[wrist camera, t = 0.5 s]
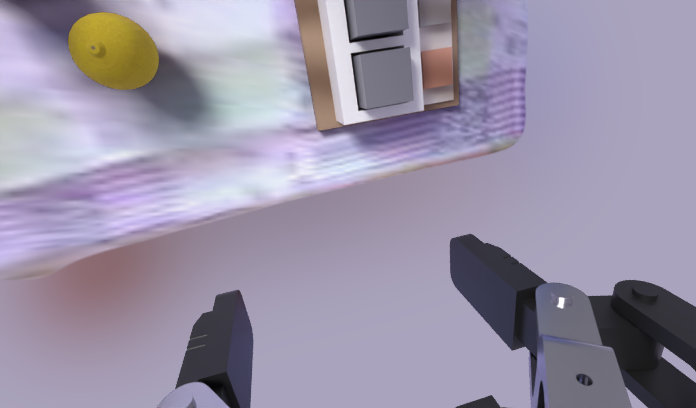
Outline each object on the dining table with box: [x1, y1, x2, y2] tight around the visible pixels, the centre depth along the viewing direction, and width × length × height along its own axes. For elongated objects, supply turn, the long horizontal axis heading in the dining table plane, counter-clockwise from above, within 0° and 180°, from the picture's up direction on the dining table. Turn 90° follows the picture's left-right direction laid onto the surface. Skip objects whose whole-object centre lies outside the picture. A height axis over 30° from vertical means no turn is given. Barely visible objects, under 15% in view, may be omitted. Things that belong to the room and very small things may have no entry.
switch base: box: [294, 0, 459, 131], centre depth 32 cm, size 20×16×2 cm
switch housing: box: [317, 0, 424, 125], centre depth 30 cm, size 19×8×4 cm, turn 9°
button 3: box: [351, 47, 414, 109], centre depth 31 cm, size 4×4×4 cm
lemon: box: [68, 12, 159, 90], centre depth 26 cm, size 6×6×8 cm
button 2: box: [344, 0, 409, 41], centre depth 28 cm, size 4×4×4 cm
